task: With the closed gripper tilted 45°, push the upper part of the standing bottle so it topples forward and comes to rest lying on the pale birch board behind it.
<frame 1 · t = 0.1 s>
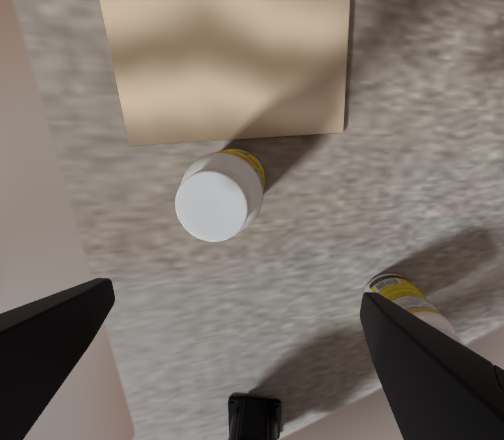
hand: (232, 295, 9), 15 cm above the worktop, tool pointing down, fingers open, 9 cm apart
supplement bottle 2: (386, 291, 25), on the worktop
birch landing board: (226, 58, 19), on the worktop
supplement bottle: (236, 178, 22), on the worktop
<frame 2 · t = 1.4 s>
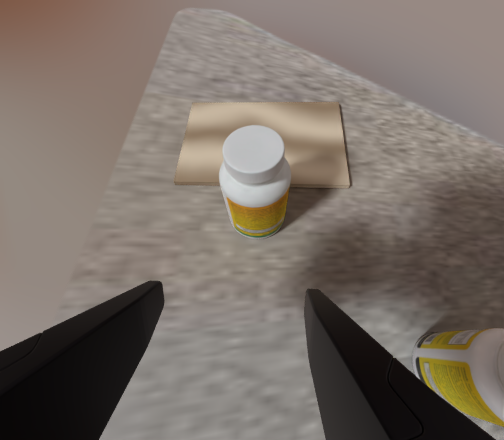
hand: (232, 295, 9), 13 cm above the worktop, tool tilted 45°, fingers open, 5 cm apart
supplement bottle 2: (443, 367, 18), on the worktop
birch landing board: (262, 142, 28), on the worktop
supplement bottle: (257, 216, 24), on the worktop
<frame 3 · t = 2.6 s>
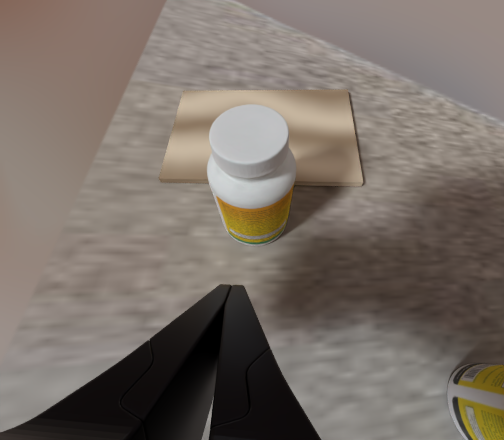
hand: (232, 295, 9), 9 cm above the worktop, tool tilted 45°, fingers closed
supplement bottle 2: (485, 408, 15), on the worktop
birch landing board: (261, 135, 25), on the worktop
supplement bottle: (255, 219, 21), on the worktop
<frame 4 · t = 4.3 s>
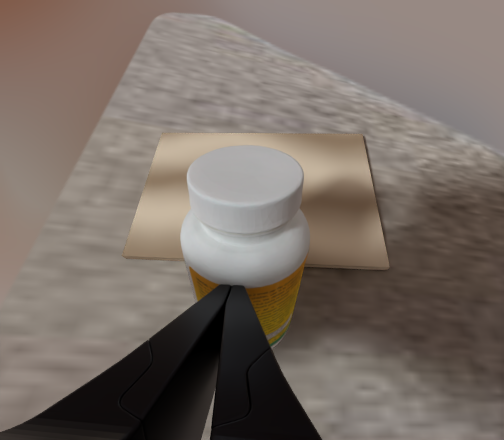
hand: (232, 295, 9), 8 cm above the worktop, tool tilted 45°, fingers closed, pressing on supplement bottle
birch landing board: (255, 192, 20), on the worktop
supplement bottle: (246, 313, 15), point 1 cm above the worktop, touching gripper
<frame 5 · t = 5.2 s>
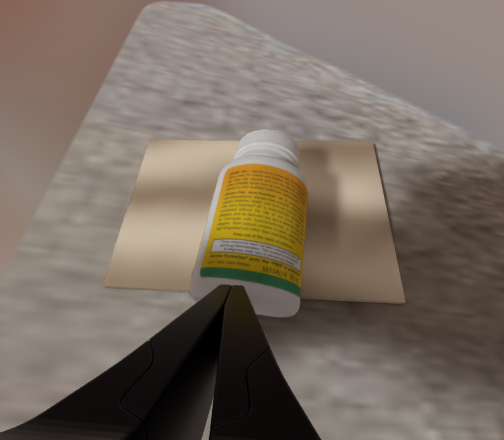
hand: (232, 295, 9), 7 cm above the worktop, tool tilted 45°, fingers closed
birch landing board: (253, 209, 18), on the worktop
supplement bottle: (242, 312, 12), point 3 cm above the worktop, touching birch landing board
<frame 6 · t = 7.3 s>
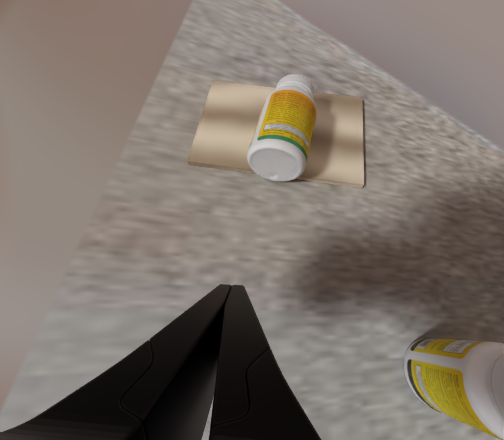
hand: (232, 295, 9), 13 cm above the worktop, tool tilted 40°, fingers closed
supplement bottle 2: (432, 371, 19), on the worktop
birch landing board: (279, 131, 28), on the worktop
supplement bottle: (274, 168, 22), point 3 cm above the worktop, touching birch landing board
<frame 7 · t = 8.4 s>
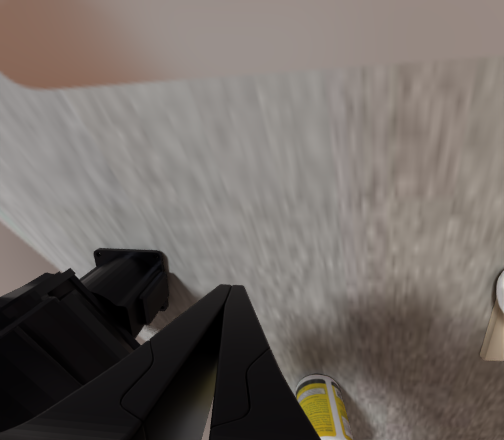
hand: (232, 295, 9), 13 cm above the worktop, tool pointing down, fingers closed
supplement bottle 2: (317, 387, 27), on the worktop
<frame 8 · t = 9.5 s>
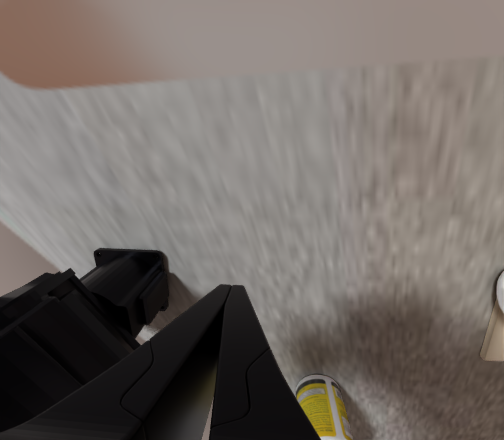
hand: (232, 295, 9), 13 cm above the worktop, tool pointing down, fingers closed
supplement bottle 2: (317, 387, 27), on the worktop
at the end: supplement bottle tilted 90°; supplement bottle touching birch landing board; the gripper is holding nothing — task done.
